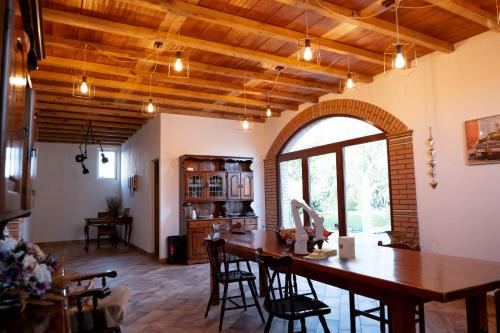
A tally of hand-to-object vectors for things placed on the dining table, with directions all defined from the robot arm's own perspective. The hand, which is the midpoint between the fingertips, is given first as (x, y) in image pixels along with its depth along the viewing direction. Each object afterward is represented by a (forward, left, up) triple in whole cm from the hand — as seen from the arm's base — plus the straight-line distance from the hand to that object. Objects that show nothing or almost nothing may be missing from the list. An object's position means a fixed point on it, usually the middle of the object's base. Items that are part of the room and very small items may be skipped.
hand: (320, 249), depth 273 cm
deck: (0, +7, -5) cm, 8 cm away
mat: (0, -6, -5) cm, 8 cm away
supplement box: (+19, +7, -5) cm, 21 cm away
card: (0, -5, -3) cm, 6 cm away
